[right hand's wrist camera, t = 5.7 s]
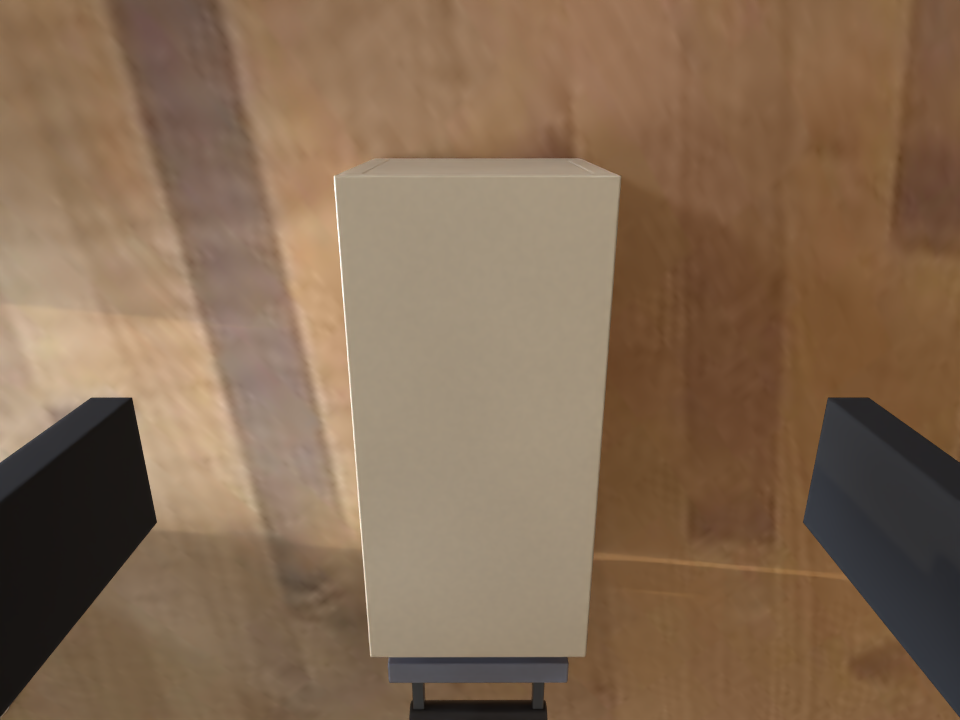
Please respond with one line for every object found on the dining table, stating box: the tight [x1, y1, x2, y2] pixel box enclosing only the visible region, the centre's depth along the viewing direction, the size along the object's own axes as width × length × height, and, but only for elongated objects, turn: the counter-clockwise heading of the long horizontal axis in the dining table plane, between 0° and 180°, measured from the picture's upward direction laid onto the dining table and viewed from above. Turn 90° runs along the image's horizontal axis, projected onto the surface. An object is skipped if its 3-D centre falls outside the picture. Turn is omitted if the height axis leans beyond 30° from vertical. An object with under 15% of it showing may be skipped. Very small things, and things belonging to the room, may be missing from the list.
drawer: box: [388, 657, 569, 720], centre depth 32 cm, size 26×9×7 cm, turn 0°
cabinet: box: [334, 158, 621, 657], centre depth 30 cm, size 21×10×9 cm, turn 0°
